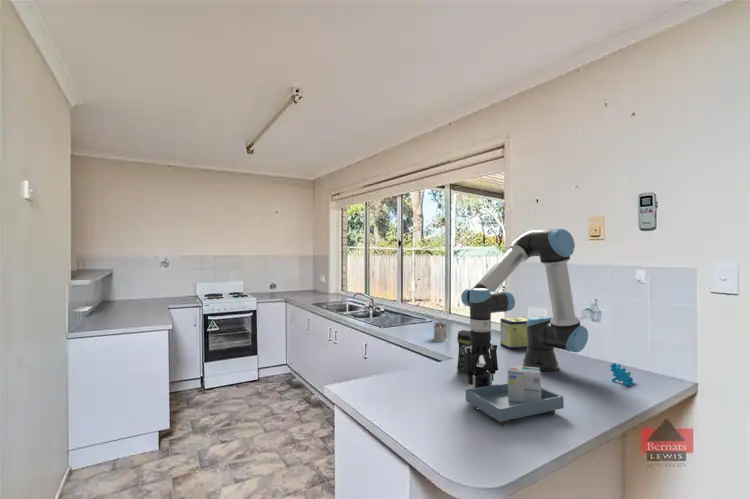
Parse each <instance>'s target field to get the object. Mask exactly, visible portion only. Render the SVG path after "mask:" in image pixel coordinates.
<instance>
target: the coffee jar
mask: <svg viewBox="0 0 750 499" xmlns="http://www.w3.org/2000/svg"><path fill="white" fill-rule="evenodd" d="M470 331H471V330H464V329H463V330H459V331H458V333H457V337H456V339H457V344H458V357H457V367H456V369H457V371H458V372H459V373H461V374H464V373H463V365H464V347H469V346H470V344H471V340H470ZM471 351H472V350H471ZM471 354H472V352H471ZM471 357H472V356H471ZM477 363H480V358H479V359H478V361H477Z"/></svg>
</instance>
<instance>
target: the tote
mask: <svg viewBox="0 0 750 499" xmlns="http://www.w3.org/2000/svg"><path fill="white" fill-rule="evenodd" d="M465 402H467V403H468V404H471V405H472V407H473V408H474V407H475V408H474V409H476V408H479V411H482V412H484V413H485V414H487V415H489V416H491V418H494V419H495V420H497V423H498V424H500V425H501V426H506V425H507V424H508V421H511V420H514V419H519V418H523V417H528V416H529V417H530V416H533V415H537V414H543V413H547V414H549V415H551V416H553V415H555V413H556V411H557V410H562V409H564V396H563V395H560V394H558V393H556V392H553V391H551V390H549V389H546V388H545V387H542V386H541V400H536V401H531V402H526V403H523V402H515V401H508V382H504V383H503V382H502V383H497V384H492V385H491V386H485V387H479V388H473V389H469V388H468V389H465ZM505 424H506V425H505Z"/></svg>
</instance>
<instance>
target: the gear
mask: <svg viewBox="0 0 750 499" xmlns="http://www.w3.org/2000/svg"><path fill="white" fill-rule="evenodd" d="M609 367H610V371H611V372H612V375H613V377H614V378H612V379H611V381H612V382H615V381H618V382H619V383H620V382H621V383H622V385H623V386H628V387H631V386H633V385H634V382H633V381H634V378H633V377H631V374H632V372H631V371H628V372H627V369H626V368H625V367H622V365H621V364H617V363H615V362H613V363H612V364H611V365H610V366H609ZM621 367H622V368H621Z"/></svg>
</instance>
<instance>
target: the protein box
mask: <svg viewBox="0 0 750 499" xmlns="http://www.w3.org/2000/svg"><path fill="white" fill-rule="evenodd" d="M528 319H529V318H527V317H523V316H522V317H509V318H508V317H507V318H500V320H499V321H500V324H499V325H500V346H501V347H503V348H506V349H508V350H510V351H512V350H525V349H526V350H527V320H528Z"/></svg>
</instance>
